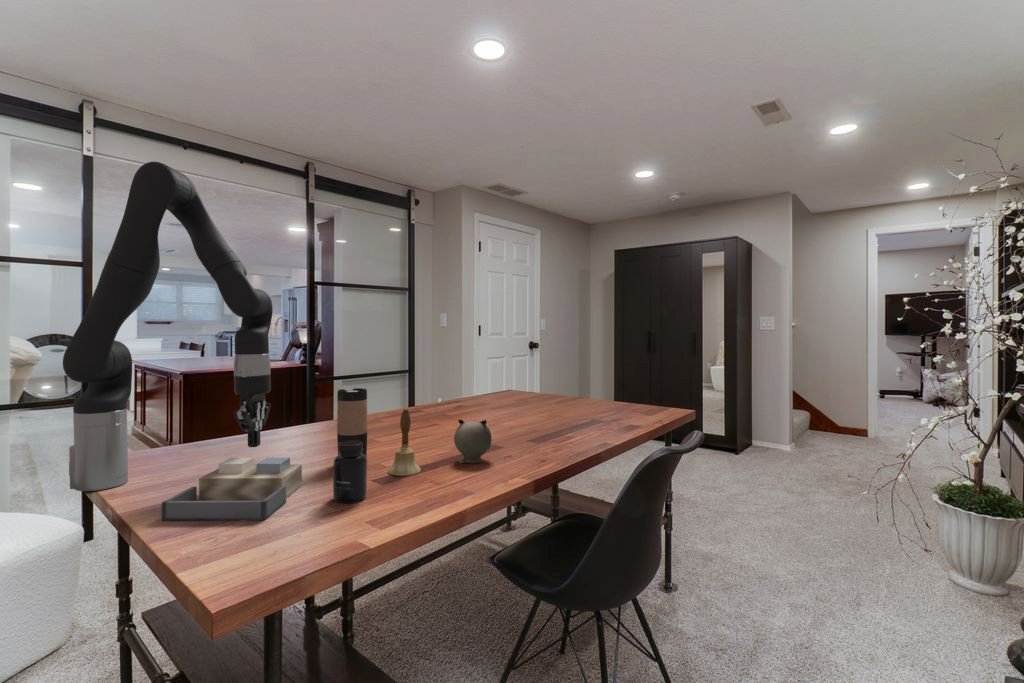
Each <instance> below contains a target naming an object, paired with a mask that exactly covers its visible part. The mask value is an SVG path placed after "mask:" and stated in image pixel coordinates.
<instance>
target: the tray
mask: <svg viewBox="0 0 1024 683" xmlns="http://www.w3.org/2000/svg"><path fill="white" fill-rule="evenodd" d="M197 494H198V492H197V486H191V487H189V488H187V489H185V490H183V491H182V492H179V493H177V494H175V495H174V496H171V497H170V498H168V499H166V500H164V501H163V502H161V521H162V522H207V521H208V522H213V521H214V522H219V521H218V520H247V521H266V520H268V519H269V518H270V517H271V516H272V515H273V514H275V513H276V512H277V511H278V510H279V509H281V507H283V506H284V505H285V504H286V503H287V498H286V486H282V487H280V488H279V489H278V490H276V491H275V492H273V493H272V494H271V495H269V496H268V497H267V498H265V499H264V500H254V501H199V500H198V499H197V498H198V497H197V496H198V495H197ZM215 520H217V521H215Z"/></svg>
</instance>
